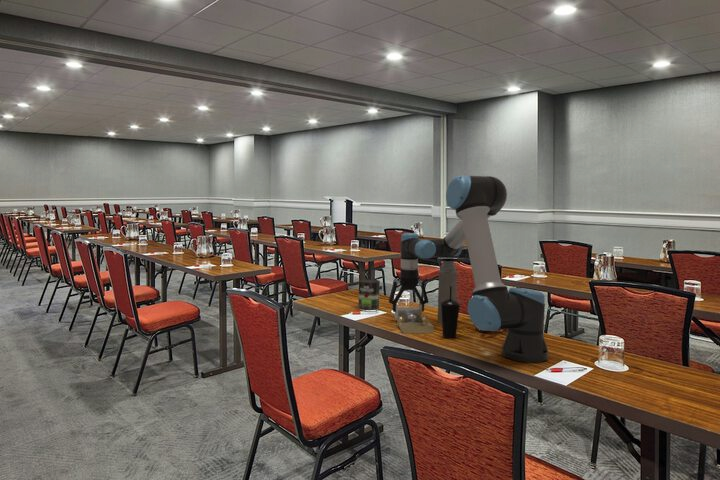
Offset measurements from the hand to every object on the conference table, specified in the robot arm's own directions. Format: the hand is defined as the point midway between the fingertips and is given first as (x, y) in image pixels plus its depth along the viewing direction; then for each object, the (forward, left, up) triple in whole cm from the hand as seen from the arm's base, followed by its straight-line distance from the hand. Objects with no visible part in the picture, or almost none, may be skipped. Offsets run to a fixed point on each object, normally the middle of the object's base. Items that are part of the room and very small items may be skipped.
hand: (408, 319), depth 216 cm
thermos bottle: (-1, -17, -1) cm, 17 cm away
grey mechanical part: (-3, 0, 0) cm, 3 cm away
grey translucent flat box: (-13, 0, -1) cm, 13 cm away
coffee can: (+26, +14, -1) cm, 29 cm away
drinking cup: (-25, -11, -1) cm, 28 cm away
